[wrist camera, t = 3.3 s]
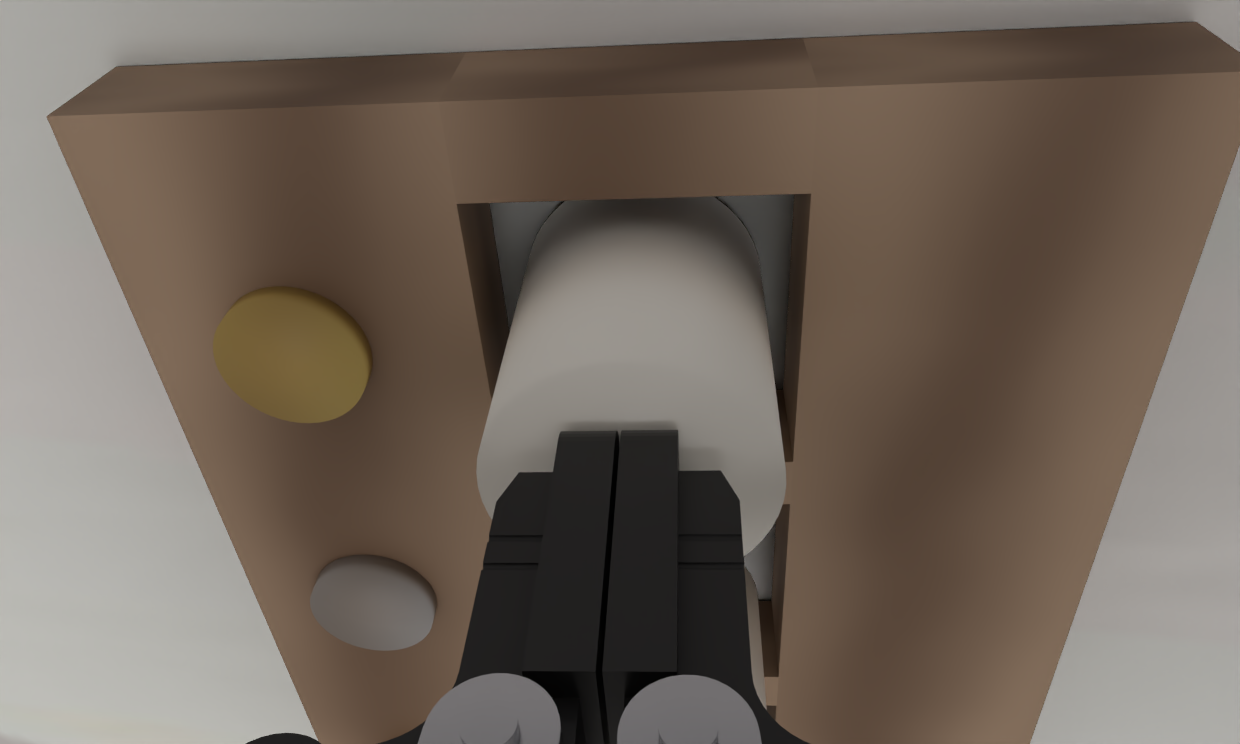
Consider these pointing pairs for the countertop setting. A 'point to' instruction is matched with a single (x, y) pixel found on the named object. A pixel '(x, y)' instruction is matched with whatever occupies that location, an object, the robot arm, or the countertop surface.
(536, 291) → the white domed cylinder
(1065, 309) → the board
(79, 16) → the countertop surface
